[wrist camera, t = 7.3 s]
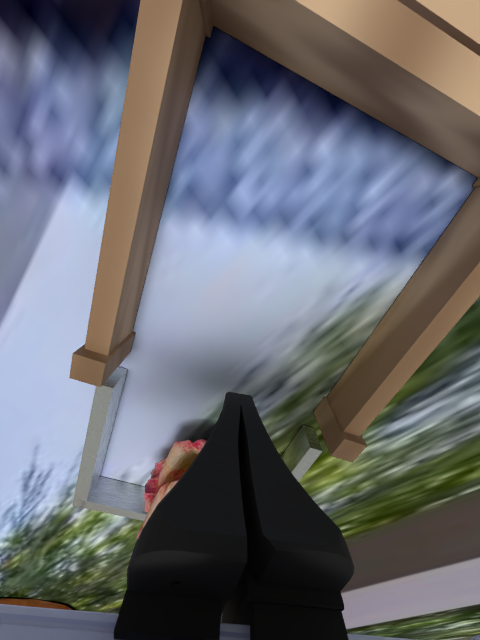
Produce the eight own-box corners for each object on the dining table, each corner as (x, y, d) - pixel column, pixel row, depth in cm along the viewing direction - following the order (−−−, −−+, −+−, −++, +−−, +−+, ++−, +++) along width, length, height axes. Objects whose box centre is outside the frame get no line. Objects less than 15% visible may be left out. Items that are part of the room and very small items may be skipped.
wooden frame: (521, 165, 11) (639, 141, 8) (331, 417, 18) (352, 462, 14) (184, -39, 9) (150, -202, 5) (106, 344, 15) (69, 377, 12)
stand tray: (314, 428, 18) (322, 451, 16) (248, 518, 23) (249, 543, 21) (113, 365, 16) (96, 383, 14) (87, 480, 21) (72, 505, 19)
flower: (282, 502, 19) (289, 579, 12) (197, 554, 19) (153, 662, 12) (230, 405, 22) (210, 422, 15) (154, 451, 22) (96, 491, 15)
